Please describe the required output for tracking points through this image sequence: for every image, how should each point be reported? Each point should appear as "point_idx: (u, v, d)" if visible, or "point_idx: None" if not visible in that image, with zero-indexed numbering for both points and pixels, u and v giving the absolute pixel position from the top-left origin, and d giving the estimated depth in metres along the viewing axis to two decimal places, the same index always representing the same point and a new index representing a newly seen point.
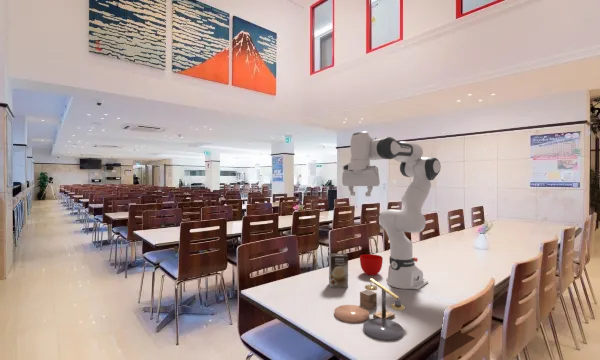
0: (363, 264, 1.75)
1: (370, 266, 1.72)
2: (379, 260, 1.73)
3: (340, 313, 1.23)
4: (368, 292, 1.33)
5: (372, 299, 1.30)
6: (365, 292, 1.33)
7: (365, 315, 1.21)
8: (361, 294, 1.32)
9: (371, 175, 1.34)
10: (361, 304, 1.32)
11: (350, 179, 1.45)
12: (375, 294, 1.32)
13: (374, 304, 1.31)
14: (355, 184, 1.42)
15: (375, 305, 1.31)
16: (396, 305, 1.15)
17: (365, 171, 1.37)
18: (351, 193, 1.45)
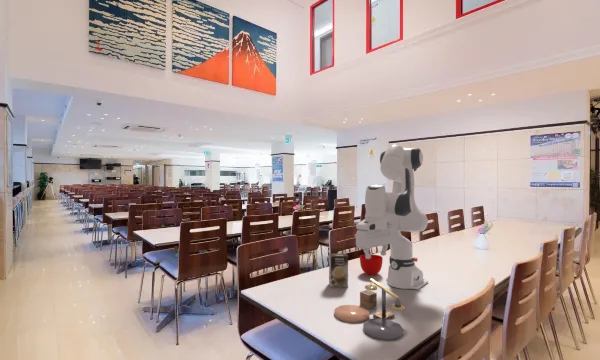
0: (363, 264, 1.75)
1: (370, 266, 1.72)
2: (379, 260, 1.73)
3: (340, 313, 1.23)
4: (368, 292, 1.33)
5: (372, 299, 1.30)
6: (365, 292, 1.33)
7: (365, 315, 1.21)
8: (361, 294, 1.32)
9: (391, 233, 1.31)
10: (361, 304, 1.32)
11: (371, 240, 1.23)
12: (375, 294, 1.32)
13: (374, 304, 1.31)
14: (377, 244, 1.25)
15: (375, 305, 1.31)
16: (396, 305, 1.15)
17: (386, 229, 1.29)
18: (369, 256, 1.24)
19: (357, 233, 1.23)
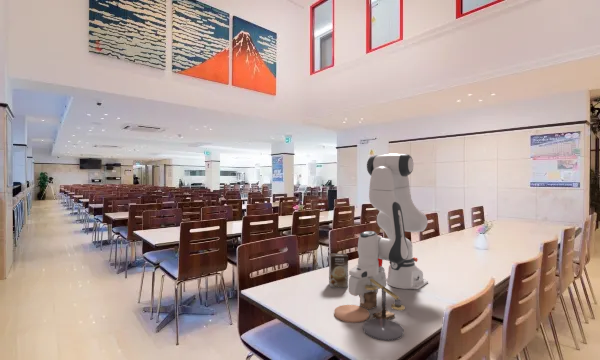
0: None
1: None
2: (379, 260, 1.73)
3: (340, 313, 1.23)
4: (368, 292, 1.33)
5: (372, 299, 1.30)
6: None
7: (365, 315, 1.21)
8: None
9: (383, 277, 1.36)
10: (361, 304, 1.32)
11: (364, 286, 1.29)
12: (375, 294, 1.32)
13: (374, 304, 1.31)
14: (369, 290, 1.30)
15: (375, 305, 1.31)
16: (396, 305, 1.15)
17: (378, 274, 1.34)
18: (364, 301, 1.30)
19: (350, 280, 1.28)
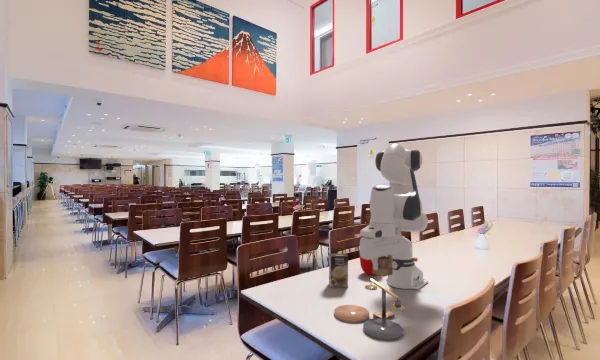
0: (363, 264, 1.75)
1: (370, 266, 1.72)
2: None
3: (340, 313, 1.23)
4: (383, 257, 1.11)
5: (387, 265, 1.09)
6: (379, 257, 1.11)
7: (365, 315, 1.21)
8: None
9: (400, 240, 1.14)
10: (374, 271, 1.11)
11: (378, 249, 1.07)
12: (391, 259, 1.10)
13: (390, 271, 1.10)
14: (384, 254, 1.09)
15: (391, 272, 1.10)
16: (396, 305, 1.15)
17: (394, 236, 1.12)
18: (378, 267, 1.08)
19: (361, 241, 1.07)
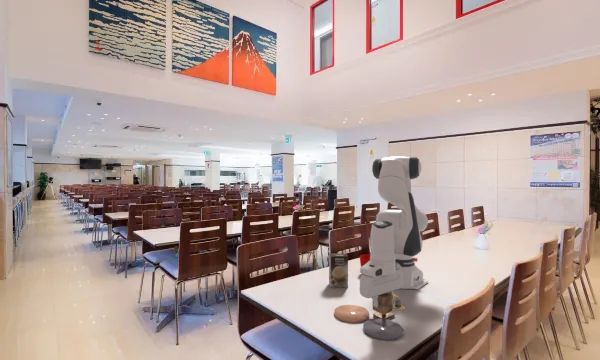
0: (363, 264, 1.75)
1: None
2: None
3: (340, 313, 1.23)
4: None
5: (387, 302, 1.09)
6: None
7: (365, 315, 1.21)
8: None
9: (400, 276, 1.14)
10: (374, 308, 1.11)
11: (378, 287, 1.07)
12: (391, 296, 1.10)
13: (390, 308, 1.09)
14: (384, 291, 1.09)
15: (391, 309, 1.10)
16: (396, 305, 1.15)
17: (395, 272, 1.12)
18: (378, 304, 1.08)
19: (361, 279, 1.07)
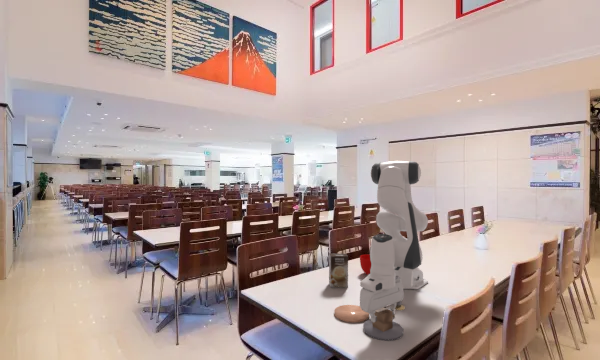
0: (363, 264, 1.75)
1: (370, 266, 1.72)
2: None
3: (340, 313, 1.23)
4: (383, 310, 1.11)
5: (387, 319, 1.09)
6: (379, 310, 1.11)
7: (365, 315, 1.21)
8: (374, 313, 1.11)
9: (400, 289, 1.14)
10: (374, 325, 1.11)
11: (378, 301, 1.07)
12: (391, 313, 1.10)
13: (390, 325, 1.10)
14: (384, 305, 1.09)
15: (391, 326, 1.10)
16: (396, 305, 1.15)
17: (395, 285, 1.12)
18: (376, 319, 1.08)
19: (361, 293, 1.07)
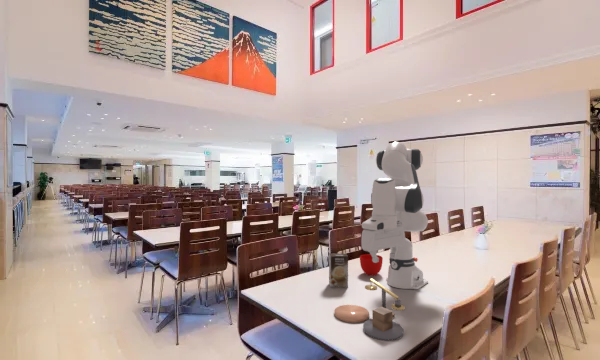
0: (363, 264, 1.75)
1: (370, 266, 1.72)
2: (379, 260, 1.73)
3: (340, 313, 1.23)
4: (383, 310, 1.11)
5: (387, 319, 1.09)
6: (379, 310, 1.11)
7: (365, 315, 1.21)
8: (374, 313, 1.11)
9: (402, 233, 1.15)
10: (374, 325, 1.11)
11: (379, 241, 1.07)
12: (391, 313, 1.10)
13: (390, 325, 1.10)
14: (386, 246, 1.09)
15: (391, 326, 1.10)
16: (396, 305, 1.15)
17: (396, 228, 1.13)
18: (377, 259, 1.08)
19: (363, 233, 1.07)
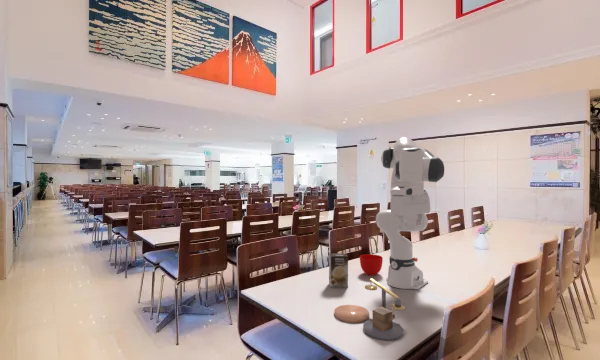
0: (363, 264, 1.75)
1: (370, 266, 1.72)
2: (379, 260, 1.73)
3: (340, 313, 1.23)
4: (382, 310, 1.11)
5: (387, 319, 1.09)
6: (379, 310, 1.11)
7: (365, 315, 1.21)
8: (374, 313, 1.11)
9: (427, 201, 1.19)
10: (374, 325, 1.11)
11: (408, 207, 1.12)
12: (391, 313, 1.10)
13: (390, 325, 1.10)
14: (413, 212, 1.14)
15: (391, 326, 1.10)
16: (396, 305, 1.15)
17: (422, 196, 1.17)
18: (405, 225, 1.13)
19: (392, 199, 1.12)
